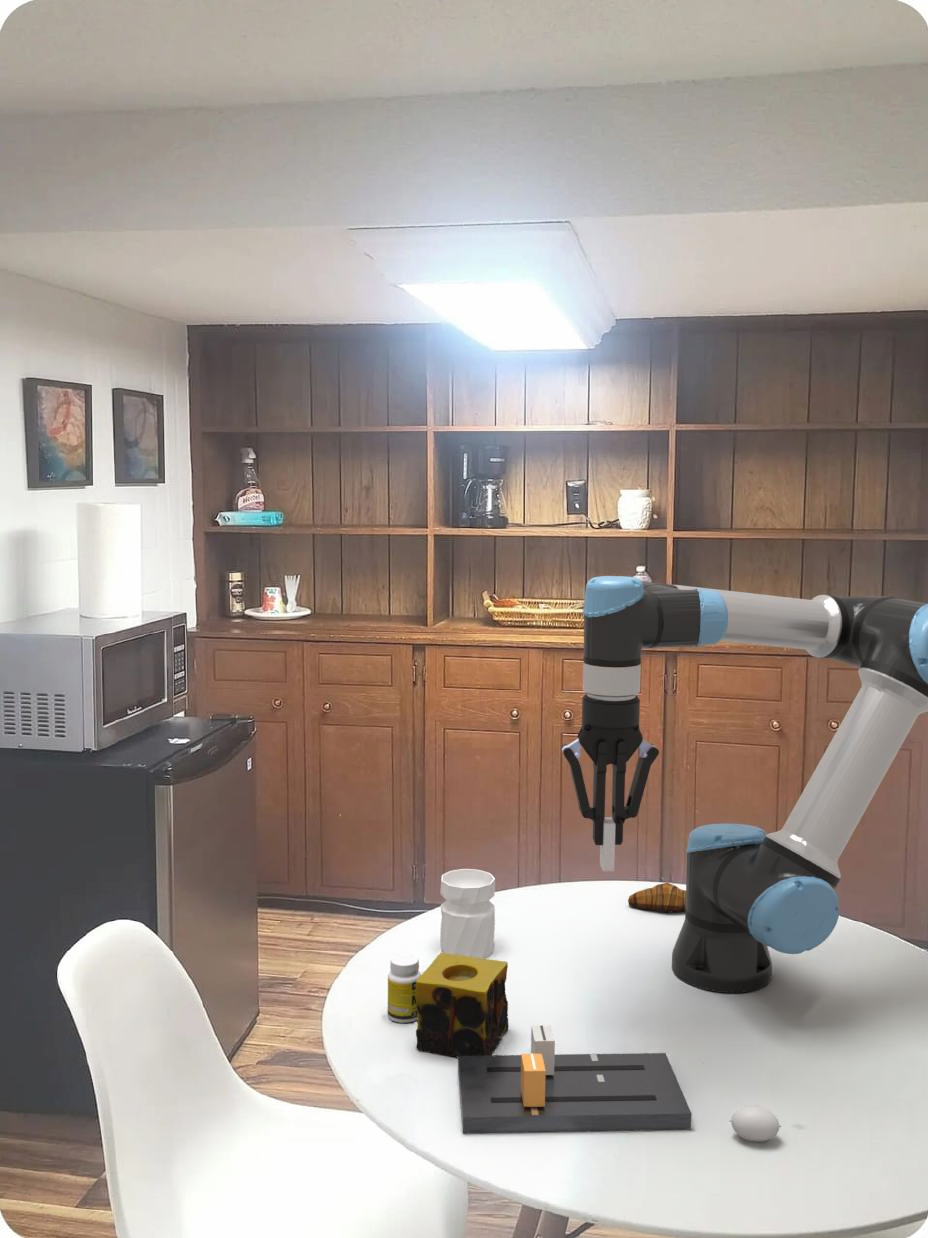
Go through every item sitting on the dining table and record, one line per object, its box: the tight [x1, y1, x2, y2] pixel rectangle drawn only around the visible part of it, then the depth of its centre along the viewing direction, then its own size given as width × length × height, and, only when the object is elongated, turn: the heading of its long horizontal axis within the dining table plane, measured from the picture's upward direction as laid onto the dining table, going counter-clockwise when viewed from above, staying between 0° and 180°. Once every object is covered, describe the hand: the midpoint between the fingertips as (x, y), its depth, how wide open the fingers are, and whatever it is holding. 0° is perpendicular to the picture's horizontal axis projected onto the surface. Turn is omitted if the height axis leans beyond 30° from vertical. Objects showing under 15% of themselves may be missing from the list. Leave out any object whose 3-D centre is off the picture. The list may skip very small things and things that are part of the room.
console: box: [457, 1052, 693, 1134], centre depth 142 cm, size 27×14×2 cm, turn 93°
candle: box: [415, 952, 510, 1058], centre depth 155 cm, size 10×10×10 cm
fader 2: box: [520, 1053, 546, 1107], centre depth 137 cm, size 2×4×5 cm, turn 3°
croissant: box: [627, 882, 686, 913], centre depth 202 cm, size 14×7×5 cm, turn 83°
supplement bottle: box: [387, 953, 422, 1024], centre depth 162 cm, size 5×5×8 cm
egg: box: [728, 1105, 782, 1143], centre depth 134 cm, size 4×6×4 cm, turn 80°
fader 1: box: [530, 1024, 556, 1075], centre depth 145 cm, size 2×4×5 cm, turn 3°
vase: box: [439, 868, 496, 959], centre depth 184 cm, size 9×9×12 cm
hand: (606, 867), depth 154 cm, fingers closed
